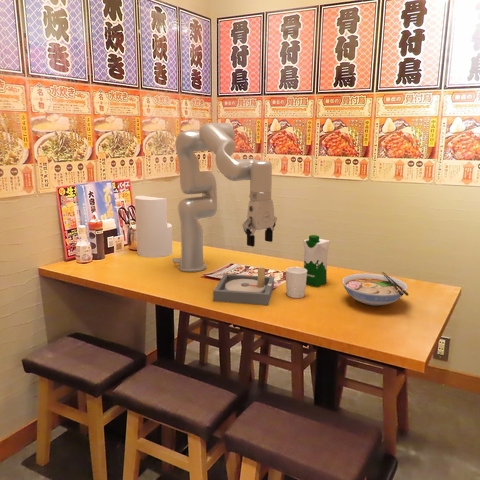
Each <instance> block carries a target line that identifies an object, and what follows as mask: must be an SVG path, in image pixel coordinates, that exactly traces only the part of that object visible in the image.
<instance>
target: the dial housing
mask: <svg viewBox="0 0 480 480" xmlns="http://www.w3.org/2000/svg"><path fill="white" fill-rule="evenodd" d="M236 279H253V280H257V281H258V275H253V274H232V273H224V274H223V276H222V277H221V278H220V280H219V282H218V283H217V284H216V286H215V287H214V289H213V293H212V294H213V300H212V301H213V302H217V303H218V302H220V303H232V304H247V305H259V306H261V305H262V306H269V305H270V301H271V297H272V295H273V290H274V287H275V276H267V275H266V276H265V279H264V284H265V292H264V293H259V292H244V291H230V290H225V284H226V283H227V282H229V281H232V280H236Z"/></svg>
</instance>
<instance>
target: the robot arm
mask: <svg viewBox="0 0 480 480" xmlns="http://www.w3.org/2000/svg"><path fill="white" fill-rule="evenodd" d="M235 138H236V132H235V128H234V127H233V126H232V125H231V124H230V123H229V122H228V123H227V122H207V123H204V124H203V125H201V126H200V127H199V129H190V130H183V131H181V132H180V133H178V134H177V136H176V138H175V151H176V154H177V155H176V156H177V160H178V165H179V168H178V169H179V182H180V183H179V185H180V190H181V192H182V193H183V194H184V195H198V194H201V196H192V197H185V198H183V199H181V200H180V201H179V202H178V205H177V211H178V217H179V223H180V246H181V247H180V249H181V251H180V252H181V257H172V262H173V263H174V264H178V267H177V268H178V269H177V270H179V271H182V272H184V273H185V272H187V273H197V272H202V271H205V270H206V269H207V267H208V266H207V263H205V262H204V231H203V226H202V224H201V223H200V221H199V220H200V219H207V218H212V217H214V216H215V215H216V214H217V212H218V211H217V210H218V196H217V193H218V189H217V180H216V178H215V175H214V174H213V173H212V172H210V171H209V170H208V171H207V170H206V171H205V170H203V171H202V170H200V160H199V158H198V156H197V155H196V153H195V152H211V151H212V152H213V154H215V156H214V157H215V165H216V168H217V170H218V171H219V172H220V173H221V174H222V175H223V176H224V177H225V178H226V179H227V180H229V181H233V182H238V181H239V182H240V181H249V195H248V197H249V202H248V207H247V215H246V217H247V218H246V220H245V221H244V222H243V223H242V224H241V226H242V228H243V231H244V234H245V235H246V246H248V247H252V248H253V247H255V243H256V241H255V240H256V237H255V236H256V235H254V234H255V233H256V231H260V230H264V240H265V241H266V242H269V243H272V242H274V241H273V234H274V233H273V231H274V230H275V227H276V224H277V221H278V218H277V217H276V216H275V208H274V201H273V199H272V182H273V180H272V179H273V178H272V177H273V172H272V171H273V165H272V162H271V161H269V160H261V159H256V158H240V159H233V158H232V157H231V156H232V155H234V152H235V151H236V148H237V147H236V146H237V145H236V143H235Z"/></svg>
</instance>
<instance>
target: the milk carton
mask: <svg viewBox="0 0 480 480" xmlns="http://www.w3.org/2000/svg"><path fill="white" fill-rule="evenodd" d="M330 242H331V240H329V239H324V238H320V236H319V235H317V234H314V235H313V234H312V235H311V234H310V235H309V236H308V239H304V240H303V249H304V251H303V252H304V253H303V268H305V269H307V279H306V286H307V285H308V286H311V287H314V288H319V287H322V286H324V285H325V284H327V280H328V279H327V271H328V252H329V247H330Z"/></svg>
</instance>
